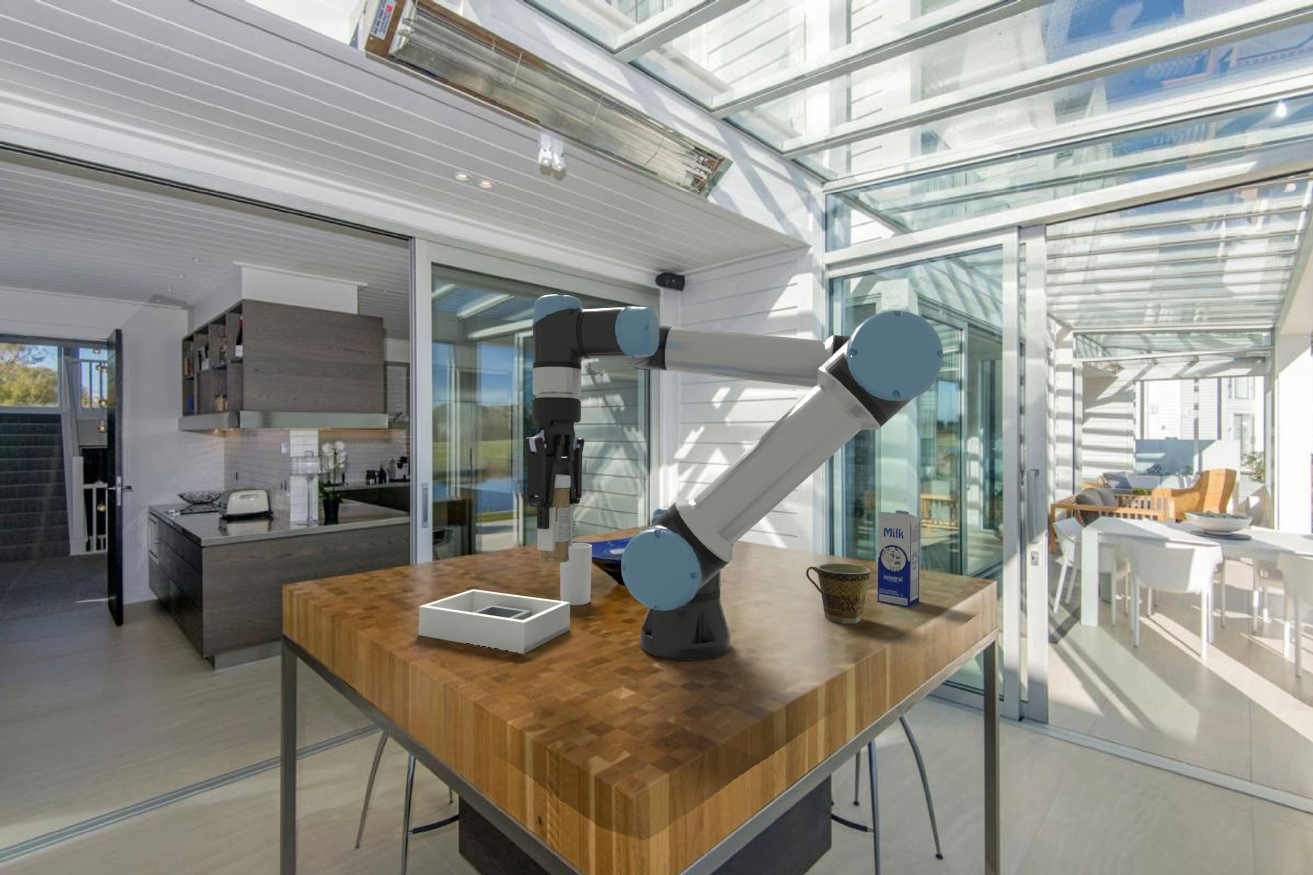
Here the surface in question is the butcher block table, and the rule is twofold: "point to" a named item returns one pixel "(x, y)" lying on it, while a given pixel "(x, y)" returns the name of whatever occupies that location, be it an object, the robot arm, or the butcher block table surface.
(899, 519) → the milk carton
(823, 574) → the ceramic cup
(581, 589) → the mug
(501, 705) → the butcher block table surface
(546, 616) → the tray
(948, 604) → the butcher block table surface
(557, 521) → the sprinkles bottle
